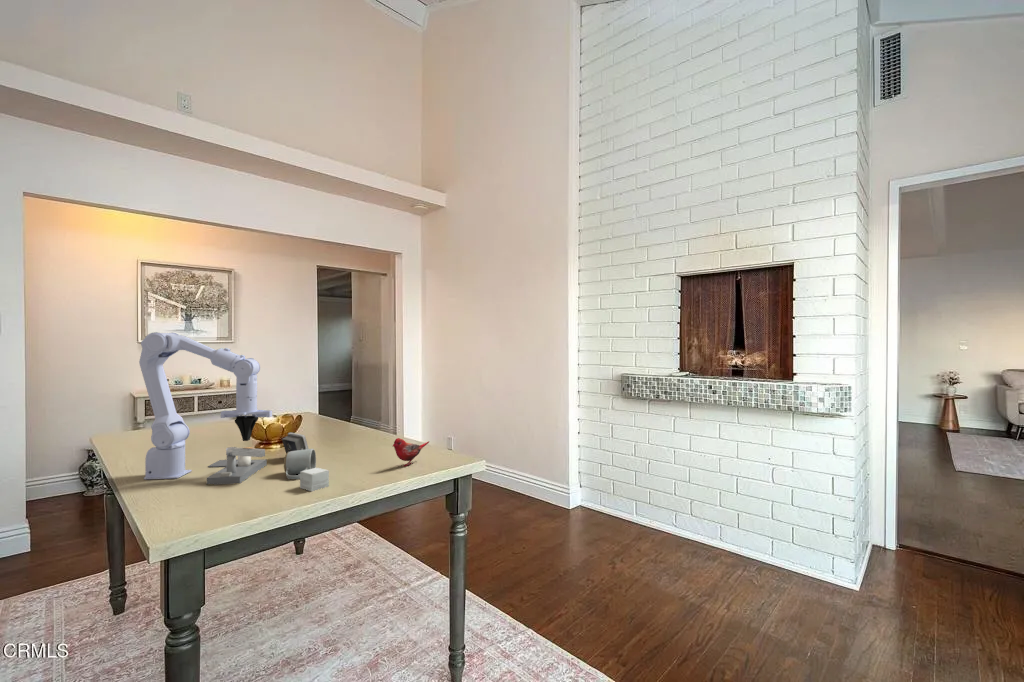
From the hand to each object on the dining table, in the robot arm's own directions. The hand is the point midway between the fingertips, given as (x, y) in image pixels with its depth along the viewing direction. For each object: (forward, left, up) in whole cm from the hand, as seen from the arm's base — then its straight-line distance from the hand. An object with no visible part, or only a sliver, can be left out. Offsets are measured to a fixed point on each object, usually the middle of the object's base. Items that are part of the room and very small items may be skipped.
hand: (246, 440), depth 148 cm
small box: (+25, -17, -11) cm, 32 cm away
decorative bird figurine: (+51, +5, -11) cm, 52 cm away
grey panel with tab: (-2, -1, -10) cm, 10 cm away
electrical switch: (+10, +16, -11) cm, 22 cm away
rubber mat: (-11, +12, -10) cm, 20 cm away
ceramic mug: (+17, -4, -11) cm, 21 cm away
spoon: (+3, -8, -3) cm, 9 cm away
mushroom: (-2, +3, -10) cm, 11 cm away
